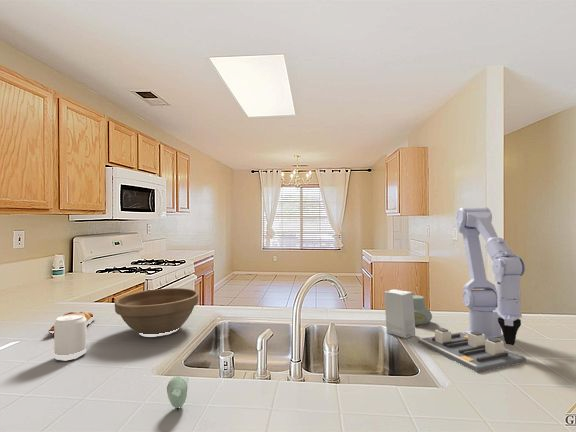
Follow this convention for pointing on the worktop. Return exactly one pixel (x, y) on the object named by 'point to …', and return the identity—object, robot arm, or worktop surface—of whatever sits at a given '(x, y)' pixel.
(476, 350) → the console
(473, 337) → the switch middle
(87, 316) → the croissant
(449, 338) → the switch
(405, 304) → the skincare box
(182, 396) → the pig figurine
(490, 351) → the switch
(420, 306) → the air freshener
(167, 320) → the brown round bowl
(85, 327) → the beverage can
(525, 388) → the worktop surface
